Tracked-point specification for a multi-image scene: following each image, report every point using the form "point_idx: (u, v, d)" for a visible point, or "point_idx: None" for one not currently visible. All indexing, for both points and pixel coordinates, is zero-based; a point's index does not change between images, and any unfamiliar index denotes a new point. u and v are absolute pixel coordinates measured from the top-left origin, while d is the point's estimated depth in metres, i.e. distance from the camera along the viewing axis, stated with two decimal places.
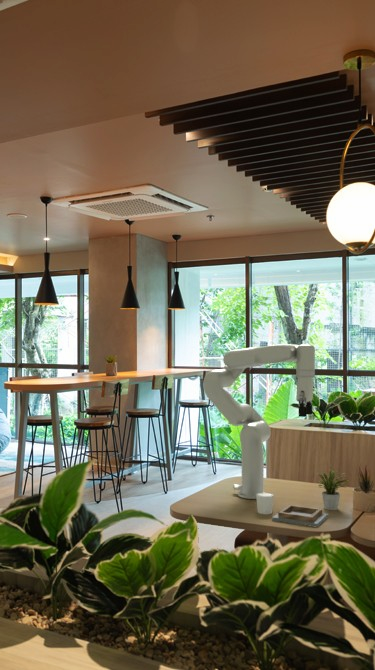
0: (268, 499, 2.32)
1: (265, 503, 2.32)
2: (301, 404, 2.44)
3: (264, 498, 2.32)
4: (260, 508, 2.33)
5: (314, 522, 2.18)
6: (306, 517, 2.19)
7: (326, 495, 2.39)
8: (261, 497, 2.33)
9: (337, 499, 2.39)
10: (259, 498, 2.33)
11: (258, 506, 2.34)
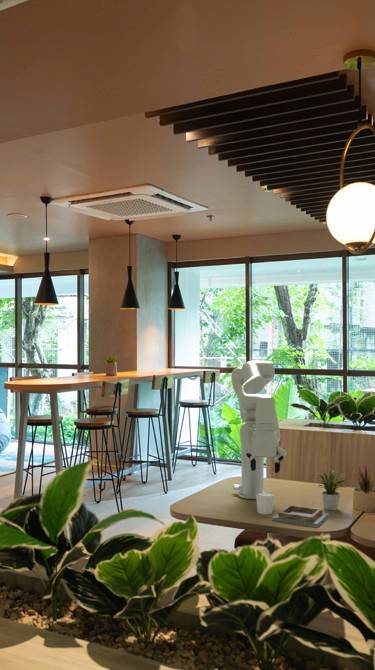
0: (268, 499, 2.32)
1: (265, 503, 2.32)
2: (282, 459, 2.32)
3: (264, 498, 2.32)
4: (260, 508, 2.33)
5: (314, 522, 2.18)
6: (306, 517, 2.19)
7: (326, 495, 2.39)
8: (261, 497, 2.33)
9: (337, 499, 2.39)
10: (259, 498, 2.33)
11: (258, 506, 2.34)
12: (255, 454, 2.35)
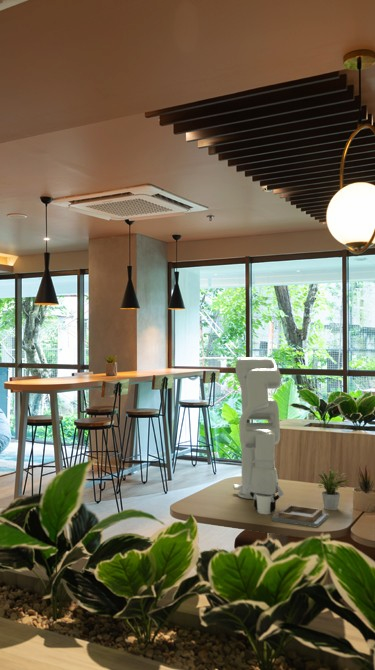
0: (268, 499, 2.32)
1: (265, 503, 2.32)
2: None
3: (264, 498, 2.32)
4: (260, 508, 2.33)
5: (314, 522, 2.18)
6: (306, 517, 2.19)
7: (326, 495, 2.39)
8: (261, 497, 2.33)
9: (337, 499, 2.39)
10: (259, 498, 2.33)
11: (258, 506, 2.34)
12: (255, 491, 2.34)
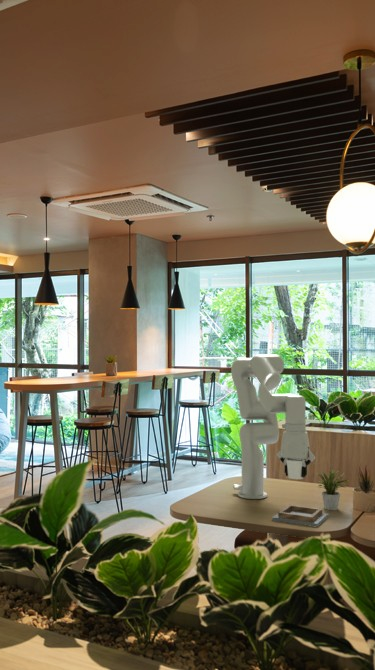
0: (299, 463, 2.25)
1: (296, 468, 2.25)
2: (308, 463, 2.26)
3: (295, 462, 2.25)
4: (291, 473, 2.26)
5: (314, 522, 2.18)
6: (306, 517, 2.19)
7: (326, 495, 2.39)
8: (292, 461, 2.25)
9: (337, 499, 2.39)
10: (290, 463, 2.26)
11: (289, 471, 2.27)
12: (285, 456, 2.27)
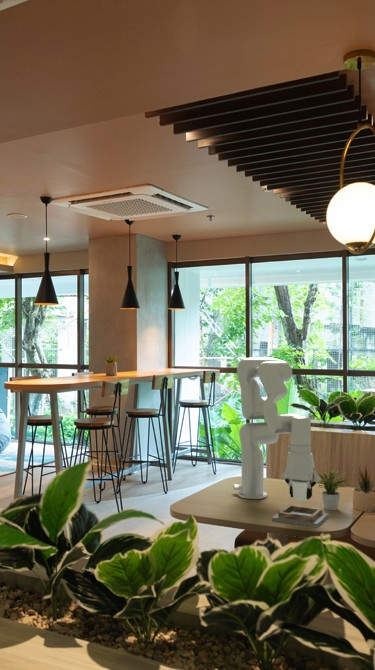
0: (304, 485, 2.24)
1: (301, 489, 2.23)
2: None
3: (300, 484, 2.23)
4: (296, 495, 2.24)
5: (314, 522, 2.18)
6: (306, 517, 2.19)
7: (326, 495, 2.39)
8: (297, 483, 2.24)
9: (337, 499, 2.39)
10: (295, 484, 2.24)
11: (294, 493, 2.25)
12: (290, 477, 2.26)
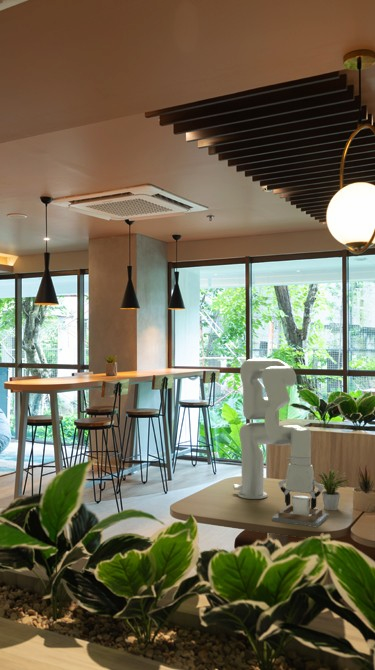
0: (305, 502, 2.23)
1: (302, 506, 2.23)
2: (318, 495, 2.24)
3: (301, 501, 2.23)
4: (296, 511, 2.24)
5: (314, 522, 2.18)
6: (306, 517, 2.19)
7: (326, 495, 2.39)
8: (297, 500, 2.24)
9: (337, 499, 2.39)
10: (295, 501, 2.24)
11: (294, 509, 2.25)
12: (290, 489, 2.26)
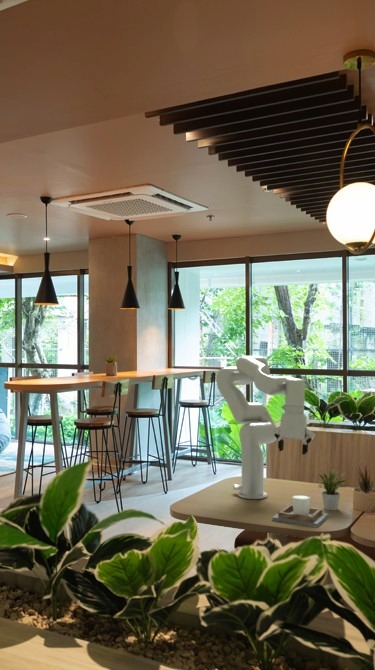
0: (305, 502, 2.23)
1: (302, 506, 2.23)
2: (309, 441, 2.36)
3: (301, 501, 2.23)
4: (296, 511, 2.24)
5: (314, 522, 2.18)
6: (306, 517, 2.19)
7: (326, 495, 2.39)
8: (297, 500, 2.24)
9: (337, 499, 2.39)
10: (295, 501, 2.24)
11: (294, 509, 2.25)
12: (283, 435, 2.39)
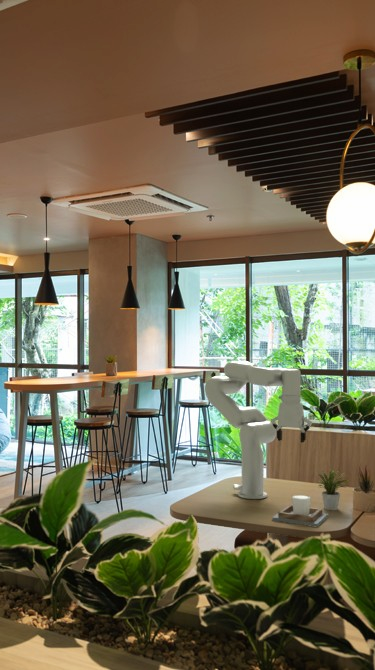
0: (305, 502, 2.23)
1: (302, 506, 2.23)
2: (307, 429, 2.42)
3: (301, 501, 2.23)
4: (296, 511, 2.24)
5: (314, 522, 2.18)
6: (306, 517, 2.19)
7: (326, 495, 2.39)
8: (297, 500, 2.24)
9: (337, 499, 2.39)
10: (295, 501, 2.24)
11: (294, 509, 2.25)
12: (282, 424, 2.45)
